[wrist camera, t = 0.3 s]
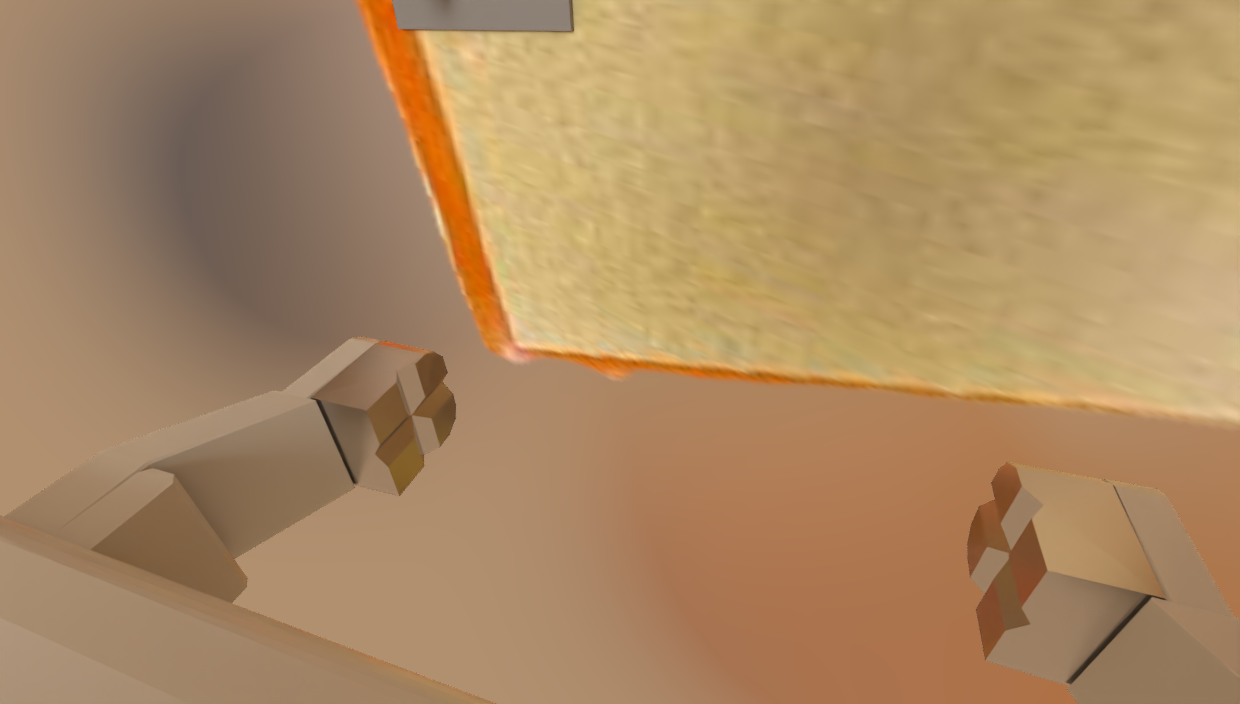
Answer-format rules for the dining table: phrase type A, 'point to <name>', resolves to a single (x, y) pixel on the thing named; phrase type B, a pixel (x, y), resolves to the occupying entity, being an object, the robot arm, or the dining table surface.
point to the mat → (485, 14)
